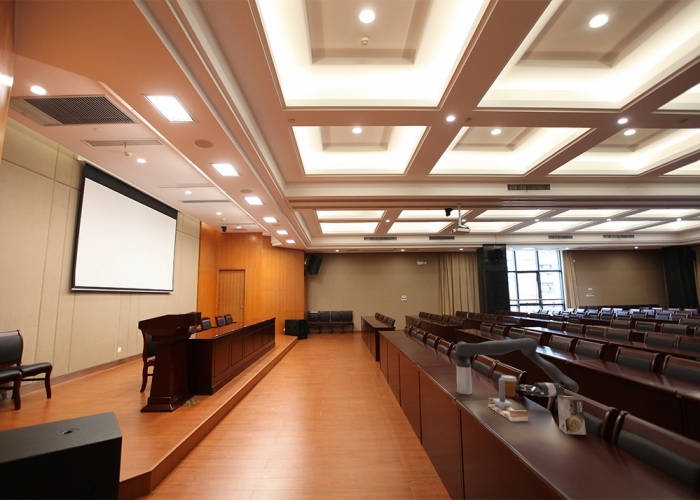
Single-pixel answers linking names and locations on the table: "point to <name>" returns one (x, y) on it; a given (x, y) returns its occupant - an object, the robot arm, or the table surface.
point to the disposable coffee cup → (509, 385)
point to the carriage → (502, 396)
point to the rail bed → (506, 414)
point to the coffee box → (571, 414)
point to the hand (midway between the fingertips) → (519, 390)
